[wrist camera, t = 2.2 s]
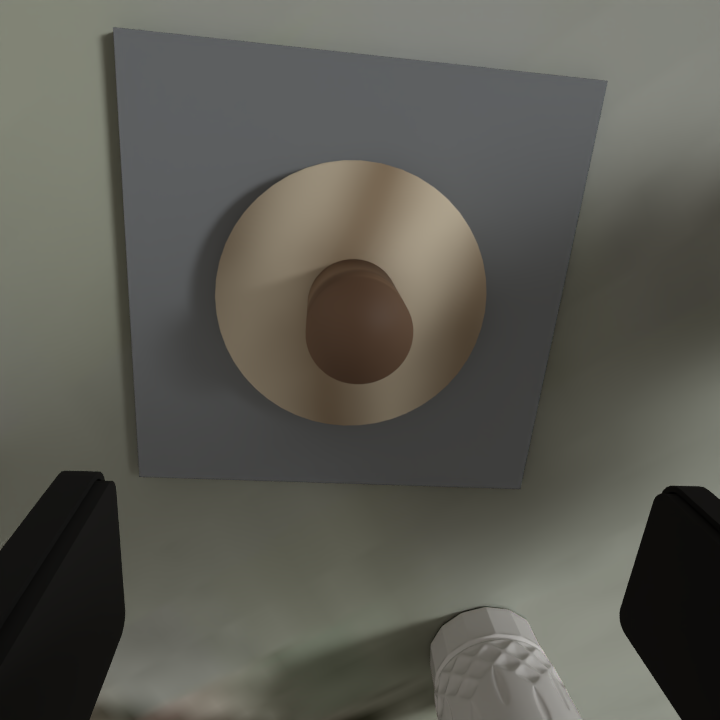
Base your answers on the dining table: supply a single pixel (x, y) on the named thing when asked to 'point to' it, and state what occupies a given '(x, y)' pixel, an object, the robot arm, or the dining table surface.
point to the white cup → (495, 671)
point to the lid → (350, 292)
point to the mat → (312, 147)
